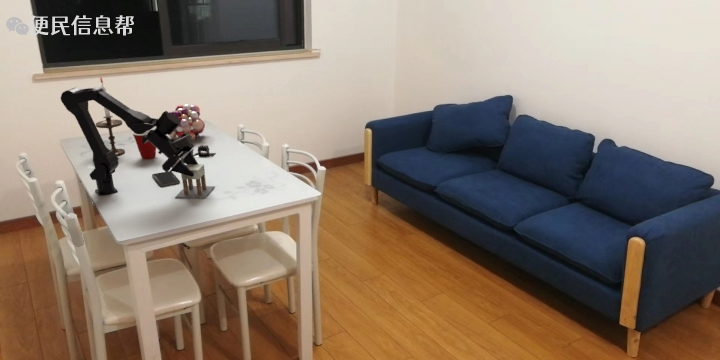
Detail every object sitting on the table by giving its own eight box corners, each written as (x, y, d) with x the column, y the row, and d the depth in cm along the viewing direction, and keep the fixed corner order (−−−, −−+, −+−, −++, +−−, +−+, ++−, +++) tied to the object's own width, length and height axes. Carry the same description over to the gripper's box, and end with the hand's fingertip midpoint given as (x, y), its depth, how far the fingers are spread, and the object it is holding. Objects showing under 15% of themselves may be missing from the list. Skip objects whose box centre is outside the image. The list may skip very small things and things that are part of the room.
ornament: (213, 137, 284) (198, 100, 284) (204, 133, 265) (188, 94, 265) (179, 150, 283) (164, 113, 283) (168, 147, 264) (152, 108, 263)
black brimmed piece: (220, 153, 254) (219, 144, 253) (214, 159, 247) (213, 149, 246) (193, 153, 255) (192, 143, 254) (187, 158, 249) (186, 148, 247)
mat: (175, 198, 204) (175, 196, 203) (186, 187, 214) (186, 185, 214) (205, 198, 203) (205, 197, 203) (214, 187, 213) (214, 186, 213)
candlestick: (121, 157, 249) (107, 78, 237) (97, 157, 250) (82, 78, 238) (131, 149, 260) (118, 73, 247) (107, 150, 260) (94, 74, 248)
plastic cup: (165, 153, 253) (162, 128, 249) (155, 161, 243) (151, 134, 239) (142, 153, 254) (138, 127, 250) (131, 161, 244) (127, 134, 240)
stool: (183, 194, 205) (180, 170, 202) (190, 188, 211) (186, 164, 208) (201, 194, 205) (198, 170, 202) (206, 188, 211) (203, 164, 208)
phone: (159, 185, 214) (151, 174, 226) (160, 188, 214) (151, 176, 226) (180, 181, 217) (171, 170, 230) (181, 184, 218) (171, 173, 230)
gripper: (166, 135, 191) (201, 166, 194) (186, 121, 209) (218, 150, 212) (147, 156, 194) (182, 187, 198) (168, 141, 212) (199, 169, 215)
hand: (196, 172), depth 205 cm, fingers open, 7 cm apart
